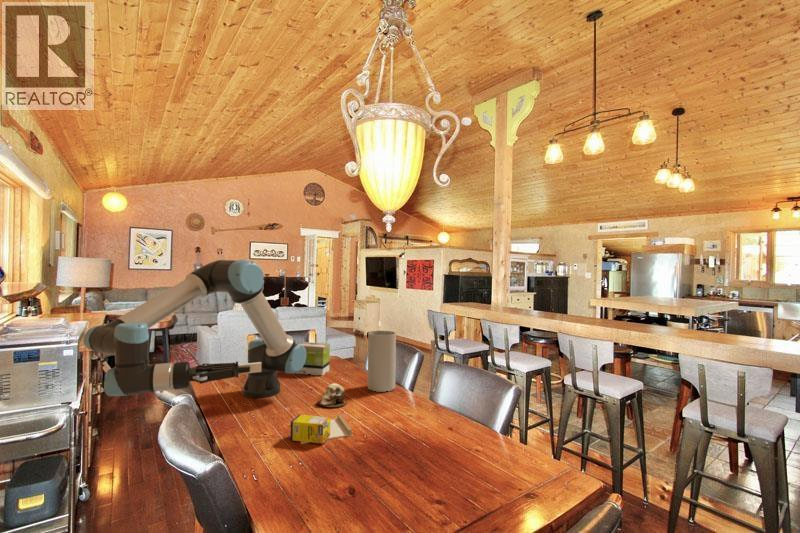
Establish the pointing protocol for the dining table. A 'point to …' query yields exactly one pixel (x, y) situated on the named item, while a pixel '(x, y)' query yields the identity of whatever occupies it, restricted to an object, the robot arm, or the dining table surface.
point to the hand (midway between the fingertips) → (261, 366)
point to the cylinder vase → (381, 360)
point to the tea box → (316, 358)
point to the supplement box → (310, 429)
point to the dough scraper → (337, 429)
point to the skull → (332, 396)
